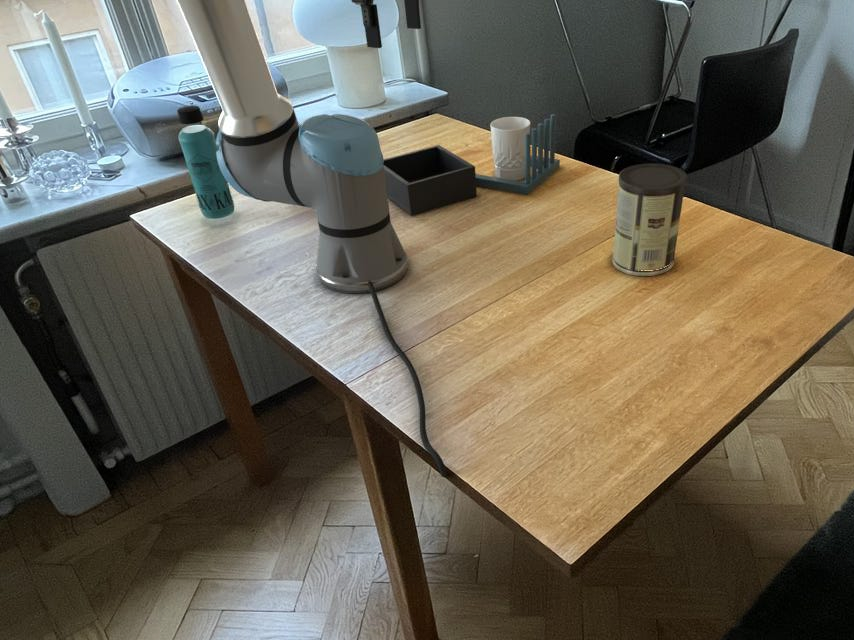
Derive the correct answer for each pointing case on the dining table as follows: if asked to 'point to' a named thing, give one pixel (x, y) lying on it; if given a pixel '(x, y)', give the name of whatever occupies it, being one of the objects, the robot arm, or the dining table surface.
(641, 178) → the coffee can
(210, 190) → the beverage bottle
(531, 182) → the drying rack
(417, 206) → the black square tray
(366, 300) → the dining table surface
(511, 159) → the white cup
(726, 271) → the dining table surface
